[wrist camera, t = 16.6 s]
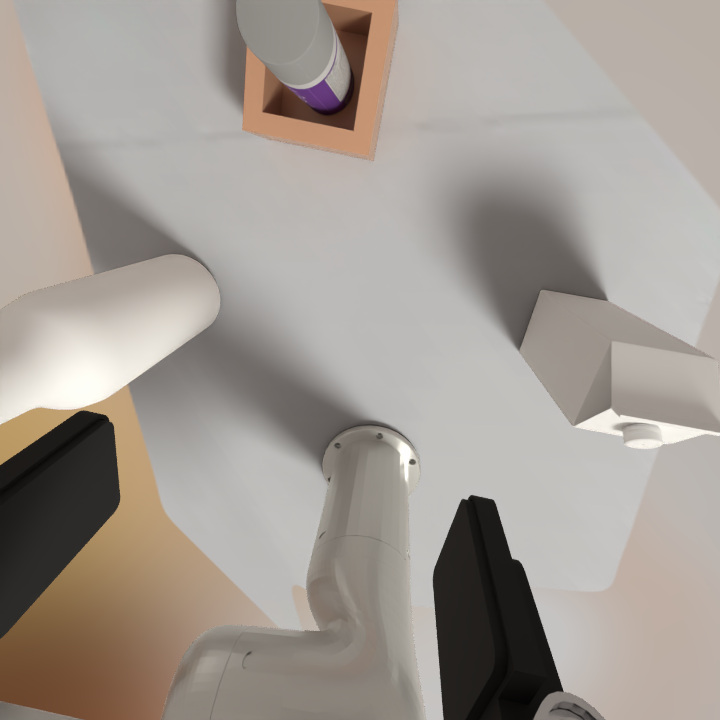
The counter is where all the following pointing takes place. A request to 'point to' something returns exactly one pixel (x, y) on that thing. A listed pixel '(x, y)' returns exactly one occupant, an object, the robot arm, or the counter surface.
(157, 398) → the counter surface
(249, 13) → the container
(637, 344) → the milk carton
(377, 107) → the tan open box
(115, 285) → the alcohol
